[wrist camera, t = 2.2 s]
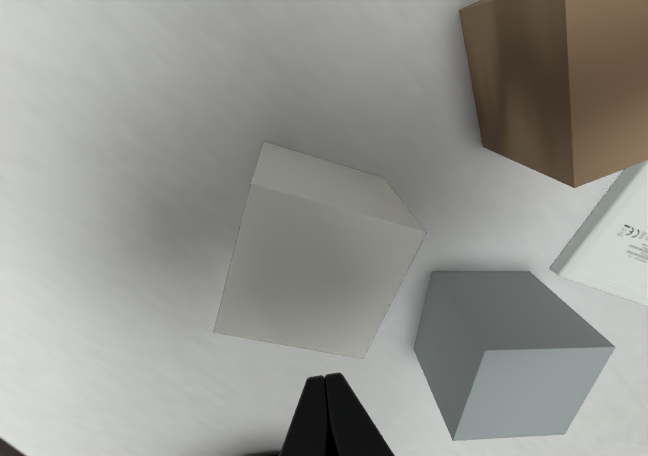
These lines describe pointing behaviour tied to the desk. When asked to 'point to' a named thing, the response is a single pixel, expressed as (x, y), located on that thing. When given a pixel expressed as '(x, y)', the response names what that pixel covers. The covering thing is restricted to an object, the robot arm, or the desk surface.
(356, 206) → the off-white cube
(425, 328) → the slate-grey block
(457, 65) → the desk surface
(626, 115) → the walnut block
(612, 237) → the external hard drive
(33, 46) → the desk surface
